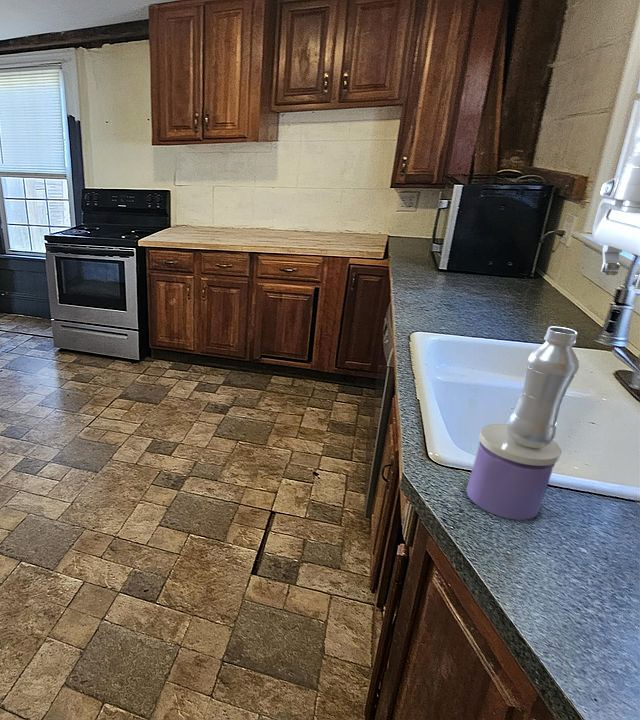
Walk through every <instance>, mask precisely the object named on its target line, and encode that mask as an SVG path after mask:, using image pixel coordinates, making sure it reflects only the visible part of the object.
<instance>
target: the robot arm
mask: <svg viewBox="0 0 640 720" xmlns="http://www.w3.org/2000/svg"><path fill="white" fill-rule="evenodd" d="M633 134H634V135H633V148H632V151H631V153H630V155H629V157H628V158H627V160H626V161H625V163H624V165H623V168H622V171H621V174H618V175H617V176H616V177H613V178H611V179H609V180H607V181H605V182H604V183H603V184H602V186H601V189H600V193H599V194H600V196H601V197H603V198H602V199H601V201H600V202H599V205H598V207H597V211H596V214H595V218H594V221H593V225H592V230H591V237H592V241H593V242H596V243H599V244H602V245H603V246H602V247H603V248H602V266H601V268H600V273H602V274H604V275H606V276H616V275H617V274H618V273H619V270H620V267H621V264H620V263H619V260H620V254H621V253H623V252H626V253H629V254H632V255H635V256H638V257H640V118H639V119H638V122H637V124H636V128H635V131H634V133H633ZM631 285H632V287H633V288H635V289H638V290H640V273H639V274H635V275H634V277H633V281H632V283H631Z"/></svg>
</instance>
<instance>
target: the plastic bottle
mask: <svg viewBox="0 0 640 720" xmlns="http://www.w3.org/2000/svg"><path fill="white" fill-rule="evenodd" d="M577 337H578V332H577V331H576V330H574V329H571V328H567V327H561V326H549V327H548V328H547V330H546V333H545V335H544V337H543V340H544V341H545V342H543V343H542V344H540V345H539V346H538V347H536V348H535V349H534V350H532V351H531V352H530V354H529V355H528V357H527V360H526V368H525V375H524V380H523V385H522V390H521V393H520V396H519V398H518V401H517V403H516V406H515V408H514V410H513V412H512V413H511V415H510V416H509V418H508V420H507V422H506V424H507V429H506V432H507V434H508V437H509V438H510V439H511V440H512V441H514V442H516V443H518V444H520V445H523V446H526V447H531V448H544V447H546V446H547V445H549V444H550V443H551V442H552V440H553V441H554V439H555V437H556V432H557V421H558V417H559V413H560V408H561V405H562V402H563V400H564V398H565V396H566V392H567V390H568V388H569V387H570V385H571V383H572V382H573V380H574V378H575V376H576V374H577V372H578V371H579V368H580V366H579V365H580V363H579V359H578V357H577V355H576V353H575V351H574V349H573V346H575V345H576V339H577Z"/></svg>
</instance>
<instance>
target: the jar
mask: <svg viewBox="0 0 640 720" xmlns="http://www.w3.org/2000/svg"><path fill="white" fill-rule="evenodd" d="M506 429H507V423H491V424H486V425H484V426H483V427H482V428H481V429H480V432H479V436H478V438H479V443H478V446H477V450H476V453H475V456H474V461H473V464H472V467H471V471H470V475H469V478H468V482H467V485H466V490H465V491H466V494H467V496H468V498H469V500H470V501H471V502H473V503H474V504H475V505H476V506H477V507H479V508H481V509H482V510H484V511H486V512H488V513H491V514H492V515H495V516H498V517H501V518H504V519H510V520H516V521H526V520H531V519H533V518H535V517H536V516H537V515H538V514H539V511H540V508H541V505H542V502H543V499H544V496H545V494H546V490H547V488H548V486H549V482H550V479H551V478H552V477H551V476H552V473H553V471H554V468H555V466H556V464H557V463H558V462H559V460H560V457H561V455H562V448H561V447H560V445H559V444H558V443H557V442H556V441H555V440H554V439H553V440H552V442H551V443H550V444H549V445H547V446H546V447H544V448H531V447H526V446H523V445H520V444H518V443H516V442H514V441H512V440H511V439H510V438H509V437H508V434H507V432H506Z"/></svg>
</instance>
